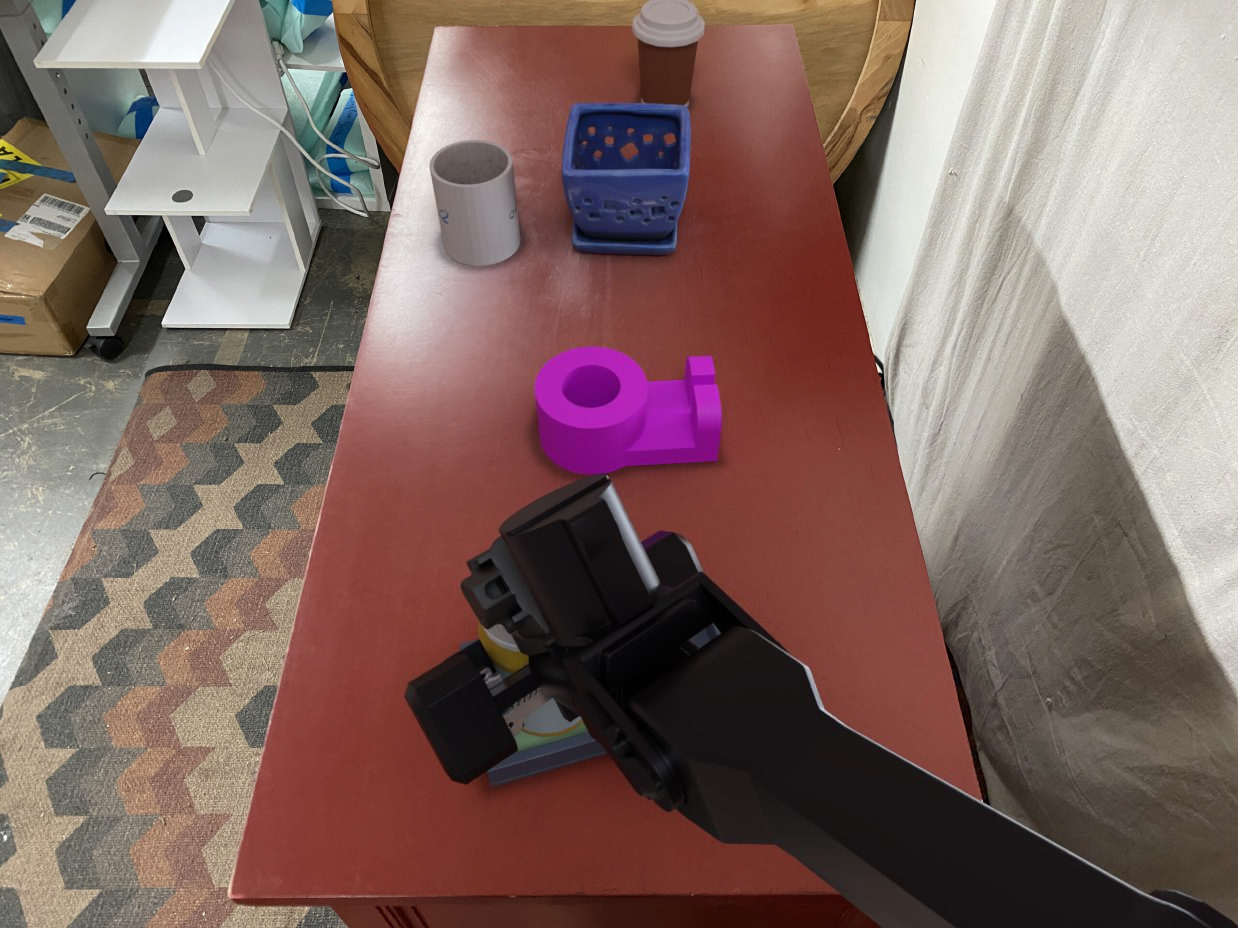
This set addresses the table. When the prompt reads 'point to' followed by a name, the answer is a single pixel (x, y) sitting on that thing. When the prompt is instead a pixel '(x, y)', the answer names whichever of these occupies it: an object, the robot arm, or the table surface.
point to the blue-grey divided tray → (558, 742)
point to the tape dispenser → (624, 412)
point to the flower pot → (626, 176)
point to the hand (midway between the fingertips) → (525, 627)
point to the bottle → (541, 719)
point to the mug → (476, 201)
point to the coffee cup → (667, 49)
